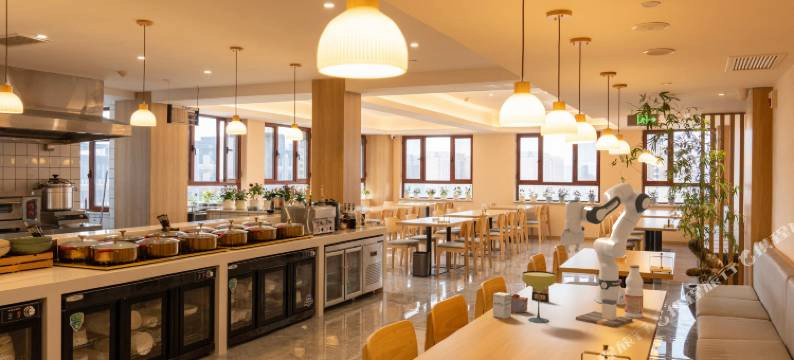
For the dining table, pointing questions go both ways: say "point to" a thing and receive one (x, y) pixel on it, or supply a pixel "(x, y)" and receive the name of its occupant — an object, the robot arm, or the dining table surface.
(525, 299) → the food item
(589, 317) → the board
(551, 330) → the dining table surface
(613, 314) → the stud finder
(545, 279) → the cocktail glass
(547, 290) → the thin brown box
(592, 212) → the robot arm
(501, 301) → the supplement box
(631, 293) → the fruit juice
